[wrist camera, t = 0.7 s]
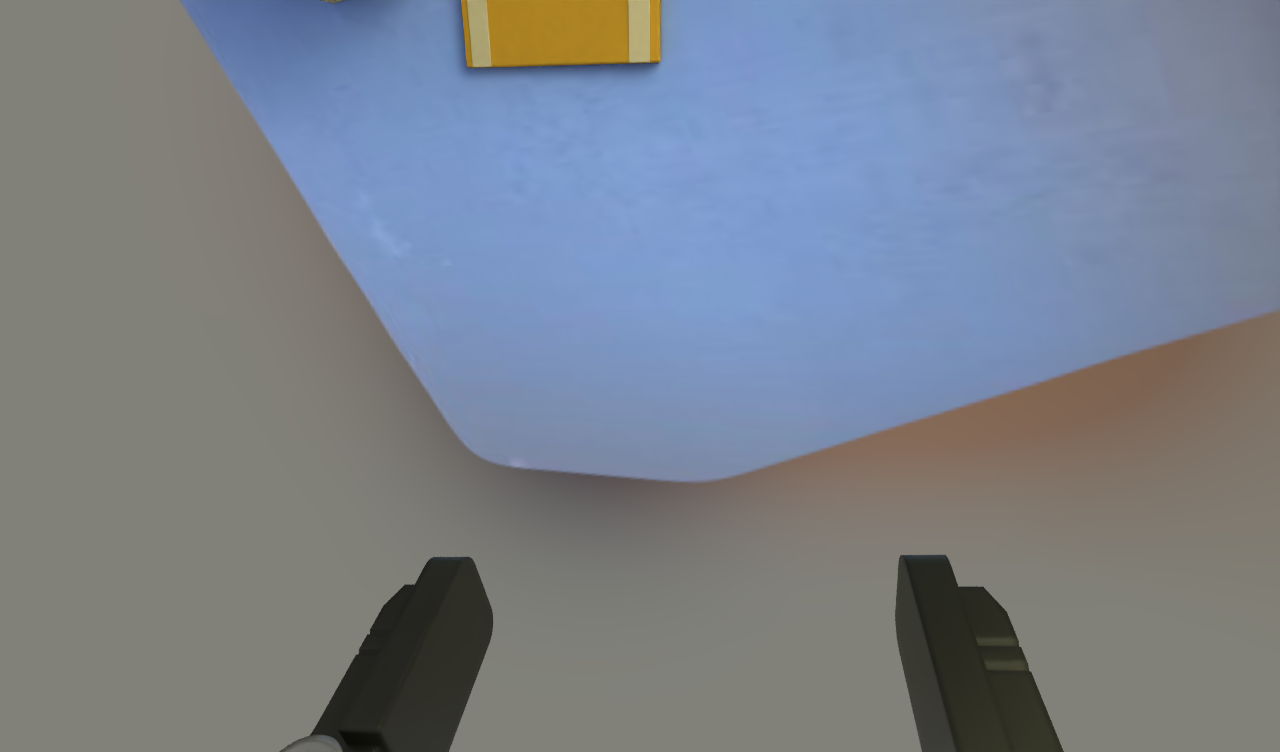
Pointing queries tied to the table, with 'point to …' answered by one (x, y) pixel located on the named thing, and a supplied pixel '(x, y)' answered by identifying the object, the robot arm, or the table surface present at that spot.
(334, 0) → the cosmetic box
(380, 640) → the robot arm
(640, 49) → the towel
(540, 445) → the table surface
